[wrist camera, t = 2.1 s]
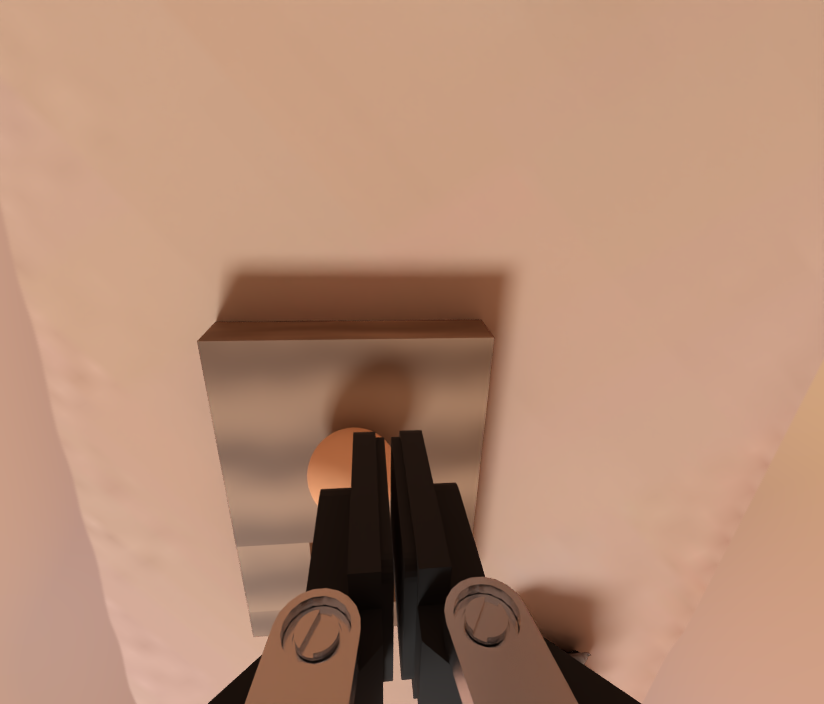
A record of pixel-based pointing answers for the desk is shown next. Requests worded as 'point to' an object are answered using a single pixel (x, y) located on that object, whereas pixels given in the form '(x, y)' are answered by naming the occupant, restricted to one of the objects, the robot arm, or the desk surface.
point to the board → (332, 423)
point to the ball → (337, 462)
